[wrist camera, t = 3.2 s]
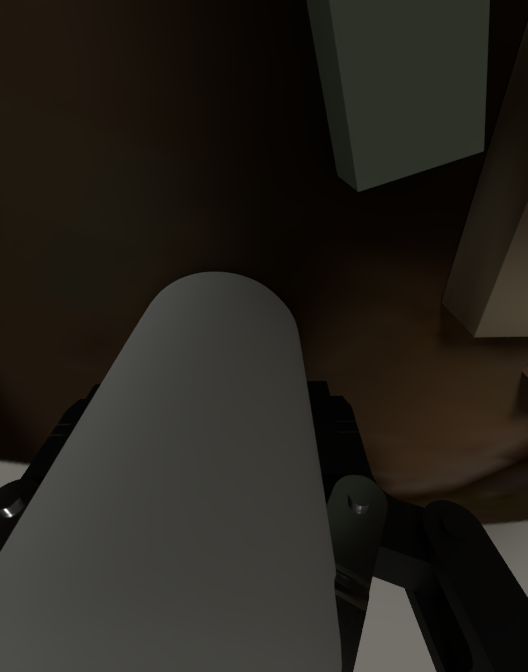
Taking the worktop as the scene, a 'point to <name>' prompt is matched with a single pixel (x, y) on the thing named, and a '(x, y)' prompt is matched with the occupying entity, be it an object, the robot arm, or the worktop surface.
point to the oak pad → (497, 226)
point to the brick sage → (401, 83)
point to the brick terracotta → (525, 371)
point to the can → (182, 506)
